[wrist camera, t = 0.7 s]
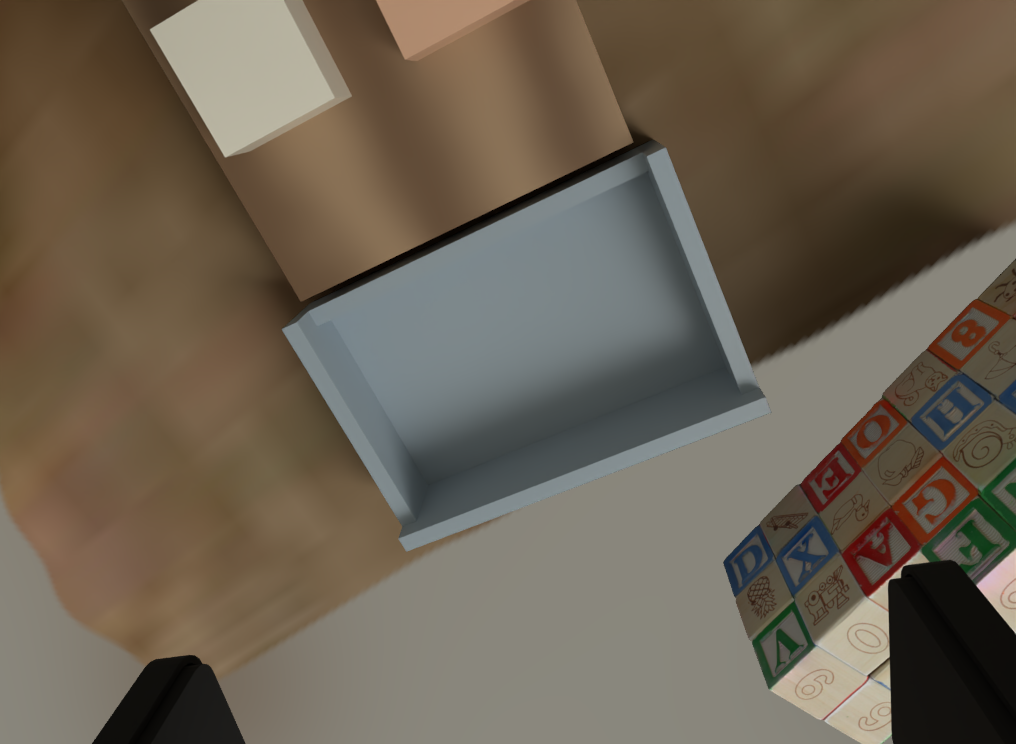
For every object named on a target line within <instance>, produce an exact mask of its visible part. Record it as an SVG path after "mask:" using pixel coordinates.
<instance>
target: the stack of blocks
mask: <svg viewBox="0 0 1016 744" xmlns="http://www.w3.org/2000/svg"><path fill="white" fill-rule="evenodd" d="M943 560H953V561H955V562H956V563H957V564H958V565H959V566H960V567H961V568H962V569H963V570H964V571H965V573H966V574H967V575H968V576H969V577H970V579H971V580H972V581H973V582H974V584H975V585H976V586H977V587H978V588H979V590H980V591H981V592H982V593H983V594H984V596H985V597H986V598H987V599H988V601H989V602H990V603H991V604H992V605H993V607H994V608H995V609H996V610H997V612H998V613H999V614H1000V615H1001V616H1002V618H1003V619H1004V620H1005V621H1006V622H1007V624H1008V625H1009V626H1010V627H1011V629H1012V630H1013V631H1014V632H1015V633H1016V259H1015V260H1014V261H1013V262H1012V263H1011V264H1010V265H1009V266H1008V267H1007V268H1006V269H1005V270H1004V271H1003V272H1002V273H1001V274H1000V275H999V276H998V277H997V278H996V279H995V280H994V282H993V283H992V284H991V285H990V286H989V287H988V288H987V289H986V290H985V291H984V292H983V293H982V294H981V295H980V296H979V297H978V299H975V300H973V301H972V302H971V303H970V304H969V305H968V306H967V307H966V308H965V309H964V310H963V311H962V312H961V313H960V314H959V315H958V316H957V317H956V318H955V319H954V321H952V322H951V323H950V324H949V326H948V327H947V328H946V329H945V330H944V331H943V332H942V333H941V334H940V335H939V336H938V337H937V338H936V339H935V340H934V341H933V342H932V343H931V344H930V345H929V347H928V348H927V349H926V350H925V351H924V352H923V353H921V354H920V356H918V357H917V358H916V359H915V360H914V361H913V362H912V364H910V366H909V367H908V368H907V369H906V370H905V371H904V372H903V373H902V374H901V375H900V376H899V377H898V378H897V379H896V380H895V381H894V382H893V383H892V384H891V385H890V386H889V387H888V388H887V389H886V391H885V392H884V393H883V395H882V398H881V399H880V400H879V401H878V402H877V403H876V404H874V406H873V407H872V409H871V410H870V411H868V412H867V414H866V415H865V416H864V417H863V418H862V419H861V420H860V421H859V422H858V423H857V424H856V425H855V426H854V427H853V428H852V429H851V430H850V431H849V432H848V433H847V434H846V435H845V436H844V437H843V438H842V440H841V442H840V444H838V445H837V446H836V447H835V448H834V449H833V450H832V451H831V452H830V453H829V454H828V455H827V456H826V457H825V458H824V459H823V460H822V461H821V462H820V463H819V464H818V465H817V467H816V468H815V469H814V470H813V471H812V472H811V473H810V474H809V475H808V476H807V477H806V478H805V479H804V480H803V482H802V483H801V484H800V485H796V486H795V487H794V488H793V489H792V490H791V491H790V492H789V493H788V494H787V495H786V496H785V497H784V499H782V501H781V502H779V503H778V505H777V506H776V507H775V508H774V509H773V510H772V511H771V512H770V513H769V514H768V515H767V516H766V517H765V518H764V519H763V520H762V521H761V523H760V524H759V525H758V526H757V527H755V528H754V530H752V532H751V533H750V534H749V535H748V536H747V537H746V538H745V539H744V540H743V541H742V542H741V543H740V544H739V546H737V547H736V548H735V549H734V550H733V552H732V553H731V554H730V555H729V556H728V557H727V558H726V559H725V560H724V562H723V563H724V566H725V569H726V572H727V575H728V579H729V582H730V584H731V588H732V591H733V594H734V596H735V598H736V604H737V607H738V609H739V612H740V616H741V618H742V621H743V624H744V627H745V630H746V633H747V635H748V638H749V640H751V641H752V644H753V647H754V650H755V653H756V656H757V659H758V661H759V664H760V667H761V670H762V672H763V675H764V677H765V680H766V683H767V686H768V688H769V690H770V691H772V692H774V693H775V694H777V695H779V696H780V697H782V698H784V699H785V700H787V701H789V702H791V703H792V704H794V705H796V706H797V707H799V708H801V709H802V710H804V711H805V712H807V713H809V714H810V715H812V716H814V717H815V718H817V719H819V720H820V719H823V720H824V721H825V722H826V723H828V724H830V725H831V726H833V727H834V728H836V729H838V730H839V731H841V732H843V733H844V734H846V735H848V736H850V737H851V738H853V739H855V740H856V741H858V742H860V743H861V744H882V743H883V742H884V741H886V740H887V739H888V738H889V737H890V736H892V731H891V692H890V652H889V613H888V583H889V580H891V579H896V578H901V570H902V568H903V566H905V565H911V564H919V563H927V562H935V561H943Z"/></svg>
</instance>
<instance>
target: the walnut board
mask: <svg viewBox="0 0 1016 744" xmlns="http://www.w3.org/2000/svg"><path fill="white" fill-rule="evenodd" d="M196 1H198V0H122V2H123V4H124V5H125V7H126V9H127V10H128V12H129V14H130V15H131V17H132V19H133V21H134V22H135V24H136V26H137V27H138V29H139V31H140V32H141V34H142V36H143V37H144V39H145V41H146V42H147V44H148V46H149V47H150V49H151V51H152V52H153V54H154V56H155V58H156V59H157V61H158V63H159V64H160V66H161V68H162V69H163V71H164V73H165V74H166V76H167V78H168V79H169V81H170V83H171V84H172V86H173V88H174V89H175V91H176V93H177V95H178V96H179V98H180V100H181V101H182V103H183V105H184V106H185V108H186V110H187V111H188V113H189V115H190V116H191V118H192V120H193V121H194V123H195V125H196V126H197V128H198V130H199V132H200V133H201V135H202V137H203V138H204V140H205V142H206V143H207V145H208V147H209V148H210V150H211V152H212V153H213V155H214V157H215V158H216V160H217V162H218V163H219V165H220V167H221V169H222V170H223V172H224V174H225V175H226V177H227V179H228V180H229V182H230V184H231V185H232V187H233V189H234V190H235V192H236V194H237V195H238V197H239V199H240V200H241V202H242V204H243V205H244V207H245V209H246V211H247V212H248V214H249V216H250V217H251V219H252V221H253V222H254V224H255V226H256V227H257V229H258V231H259V232H260V234H261V236H262V237H263V239H264V241H265V242H266V244H267V246H268V248H269V249H270V251H271V253H272V254H273V256H274V258H275V259H276V261H277V263H278V264H279V266H280V268H281V269H282V271H283V273H284V274H285V276H286V278H287V279H288V281H289V283H290V285H291V286H292V288H293V290H294V291H295V293H296V295H297V296H298V298H299V300H300V301H301V302H302V301H304V300H306V299H308V298H310V297H312V296H314V295H316V294H318V293H320V292H323V291H325V290H327V289H329V288H331V287H333V286H335V285H337V284H339V283H341V282H343V281H345V280H348V279H350V278H352V277H354V276H356V275H358V274H360V273H362V272H364V271H366V270H368V269H370V268H373V267H375V266H377V265H379V264H381V263H383V262H385V261H387V260H389V259H391V258H393V257H395V256H398V255H400V254H402V253H404V252H406V251H408V250H410V249H412V248H414V247H416V246H418V245H421V244H423V243H425V242H427V241H429V240H431V239H433V238H435V237H437V236H439V235H441V234H443V233H446V232H448V231H450V230H452V229H454V228H456V227H458V226H460V225H462V224H464V223H466V222H468V221H471V220H473V219H475V218H477V217H479V216H481V215H483V214H485V213H487V212H489V211H491V210H493V209H496V208H498V207H500V206H502V205H504V204H506V203H508V202H510V201H512V200H514V199H516V198H518V197H521V196H523V195H525V194H527V193H529V192H531V191H533V190H535V189H537V188H539V187H541V186H544V185H546V184H548V183H550V182H552V181H554V180H556V179H558V178H560V177H562V176H564V175H566V174H569V173H571V172H573V171H575V170H577V169H579V168H581V167H583V166H585V165H587V164H589V163H591V162H594V161H596V160H598V159H600V158H602V157H604V156H606V155H608V154H610V153H612V152H614V151H616V150H619V149H621V148H623V147H625V146H627V145H629V144H631V143H633V140H632V137H631V135H630V132H629V130H628V127H627V125H626V123H625V120H624V118H623V115H622V113H621V110H620V108H619V105H618V103H617V100H616V98H615V95H614V93H613V90H612V88H611V85H610V83H609V80H608V78H607V75H606V73H605V71H604V68H603V66H602V63H601V61H600V58H599V56H598V53H597V51H596V48H595V46H594V43H593V41H592V38H591V36H590V33H589V31H588V28H587V26H586V23H585V21H584V19H583V16H582V14H581V11H580V9H579V6H578V4H577V1H576V0H529V1H527V2H525V3H524V4H522V5H520V6H518V7H516V8H514V9H512V10H511V11H509V12H507V13H505V14H503V15H501V16H500V17H498V18H496V19H494V20H492V21H490V22H488V23H487V24H485V25H483V26H481V27H479V28H477V29H475V30H474V31H472V32H470V33H468V34H466V35H464V36H463V37H461V38H459V39H457V40H455V41H453V42H451V43H450V44H448V45H446V46H444V47H442V48H440V49H438V50H437V51H435V52H433V53H431V54H429V55H427V56H426V57H424V58H422V59H420V60H418V61H411V60H405V59H404V57H403V55H402V53H401V51H400V48H399V46H398V44H397V42H396V40H395V38H394V36H393V34H392V32H391V30H390V28H389V26H388V24H387V22H386V20H385V18H384V16H383V14H382V12H381V10H380V7H379V5H378V3H377V1H376V0H303V2H304V4H305V6H306V8H307V10H308V12H309V14H310V16H311V18H312V20H313V22H314V24H315V25H316V27H317V29H318V31H319V33H320V35H321V37H322V39H323V41H324V43H325V45H326V47H327V49H328V50H329V52H330V54H331V56H332V58H333V60H334V62H335V64H336V66H337V68H338V70H339V72H340V74H341V76H342V77H343V79H344V81H345V83H346V85H347V87H348V89H349V91H350V93H351V95H352V97H350V98H348V99H346V100H344V101H342V102H340V103H339V104H337V105H335V106H333V107H331V108H329V109H328V110H326V111H324V112H322V113H320V114H318V115H316V116H315V117H313V118H311V119H309V120H307V121H305V122H303V123H302V124H300V125H298V126H296V127H294V128H292V129H291V130H289V131H287V132H285V133H283V134H281V135H279V136H278V137H276V138H274V139H272V140H270V141H268V142H266V143H265V144H263V145H261V146H259V147H257V148H255V149H254V150H252V151H250V152H246V153H241V154H237V155H233V156H229V157H225V156H224V155H223V153H222V151H221V150H220V148H219V146H218V144H217V143H216V141H215V139H214V138H213V136H212V134H211V133H210V131H209V129H208V128H207V126H206V124H205V122H204V121H203V119H202V117H201V116H200V114H199V112H198V111H197V109H196V107H195V106H194V104H193V102H192V100H191V99H190V97H189V95H188V94H187V92H186V90H185V89H184V87H183V85H182V83H181V82H180V80H179V78H178V77H177V75H176V73H175V72H174V70H173V68H172V67H171V65H170V63H169V61H168V60H167V58H166V56H165V55H164V53H163V51H162V50H161V48H160V46H159V45H158V43H157V41H156V39H155V38H154V36H153V34H152V33H151V31H150V29H151V28H153V27H155V26H156V25H158V24H160V23H161V22H163V21H165V20H166V19H168V18H170V17H171V16H173V15H175V14H176V13H178V12H180V11H181V10H183V9H185V8H186V7H188V6H189V5H191V4H193V3H194V2H196Z"/></svg>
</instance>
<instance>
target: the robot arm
mask: <svg viewBox="0 0 1016 744" xmlns="http://www.w3.org/2000/svg"><path fill="white" fill-rule="evenodd" d="M888 613H889V652H890V692H891V731H892V740H893V744H1016V633H1015V632H1014V631H1013V630H1012V629H1011V627H1010V626H1009V625H1008V624H1007V622H1006V621H1005V620H1004V619H1003V618H1002V616H1001V615H1000V614H999V613H998V612H997V610H996V609H995V608H994V607H993V605H992V604H991V603H990V602H989V601H988V599H987V598H986V597H985V596H984V594H983V593H982V592H981V591H980V590H979V588H978V587H977V586H976V585H975V584H974V582H973V581H972V580H971V579H970V577H969V576H968V575H967V574H966V573H965V571H964V570H963V569H962V568H961V567H960V566H959V565H958V564H957V563H956V562H955V561H953V560H943V561H935V562H927V563H919V564H911V565H905V566H903V568H902V570H901V578H896V579H891V580H889V583H888ZM92 744H245V742H244V739H243V737H242V735H241V733H240V730H239V728H238V726H237V724H236V721H235V719H234V717H233V715H232V713H231V710H230V708H229V706H228V703H227V701H226V699H225V697H224V694H223V692H222V690H221V688H220V685H219V683H218V681H217V679H216V676H215V674H214V672H213V670H212V669H211V667H210V666H209V665H207V664H202V662H201V661H200V659H199V658H198V657H196V656H195V655H186V656H178V657H171V658H163V659H155V660H153V661H151V662H150V663H149V664H148V665H147V666H146V667H145V668H144V670H143V671H142V673H141V674H140V675H139V677H138V678H137V680H136V681H135V683H134V684H133V685H132V687H131V688H130V690H129V691H128V693H127V694H126V695H125V697H124V698H123V700H122V701H121V703H120V704H119V706H118V707H117V708H116V710H115V711H114V713H113V714H112V716H111V717H110V719H109V720H108V721H107V723H106V724H105V726H104V727H103V729H102V730H101V731H100V733H99V734H98V736H97V737H96V739H95V740H94V742H93V743H92Z"/></svg>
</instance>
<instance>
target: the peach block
mask: <svg viewBox="0 0 1016 744" xmlns="http://www.w3.org/2000/svg"><path fill="white" fill-rule="evenodd" d="M376 1H377V3H378V5H379V7H380V10H381V12H382V14H383V16H384V18H385V20H386V22H387V24H388V26H389V28H390V30H391V32H392V34H393V36H394V38H395V40H396V42H397V44H398V46H399V48H400V51H401V53H402V55H403V57H404V59H405V60H411V61H418V60H420V59H422V58H424V57H426V56H427V55H429V54H431V53H433V52H435V51H437V50H438V49H440V48H442V47H444V46H446V45H448V44H450V43H451V42H453V41H455V40H457V39H459V38H461V37H463V36H464V35H466V34H468V33H470V32H472V31H474V30H475V29H477V28H479V27H481V26H483V25H485V24H487V23H488V22H490V21H492V20H494V19H496V18H498V17H500V16H501V15H503V14H505V13H507V12H509V11H511V10H512V9H514V8H516V7H518V6H520V5H522V4H524V3H525V2H527V1H529V0H376Z"/></svg>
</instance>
